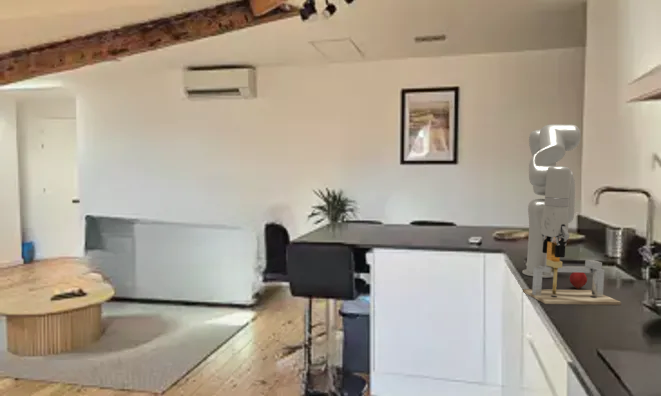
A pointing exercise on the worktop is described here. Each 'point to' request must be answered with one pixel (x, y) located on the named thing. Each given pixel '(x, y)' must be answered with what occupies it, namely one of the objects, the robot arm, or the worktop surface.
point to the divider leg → (553, 263)
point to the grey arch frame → (590, 267)
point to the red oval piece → (578, 279)
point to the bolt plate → (572, 297)
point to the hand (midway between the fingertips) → (553, 254)
